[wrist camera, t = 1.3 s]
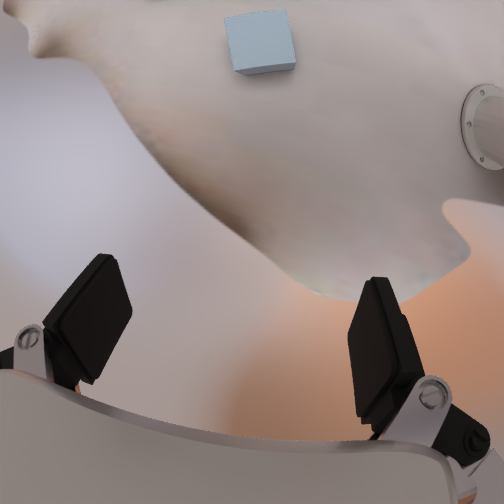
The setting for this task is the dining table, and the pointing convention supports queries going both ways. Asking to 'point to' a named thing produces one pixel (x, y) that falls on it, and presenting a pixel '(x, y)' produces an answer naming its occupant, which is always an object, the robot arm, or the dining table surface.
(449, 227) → the dining table surface
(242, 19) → the blue block
